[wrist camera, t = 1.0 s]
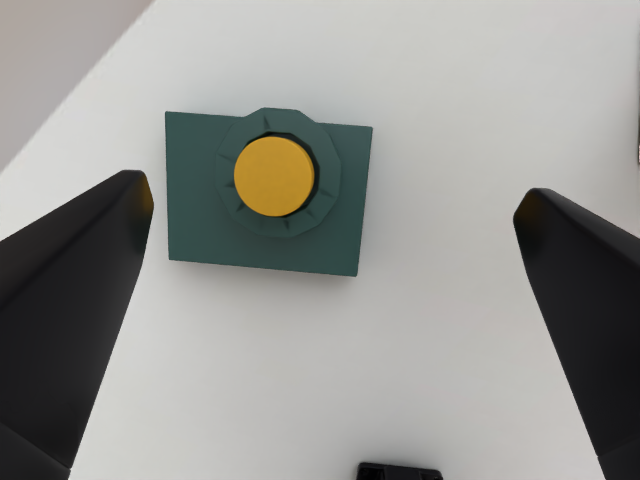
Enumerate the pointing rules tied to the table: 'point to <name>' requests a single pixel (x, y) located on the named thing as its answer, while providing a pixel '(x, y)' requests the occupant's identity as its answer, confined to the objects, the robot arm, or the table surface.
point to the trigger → (274, 176)
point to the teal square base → (246, 224)
